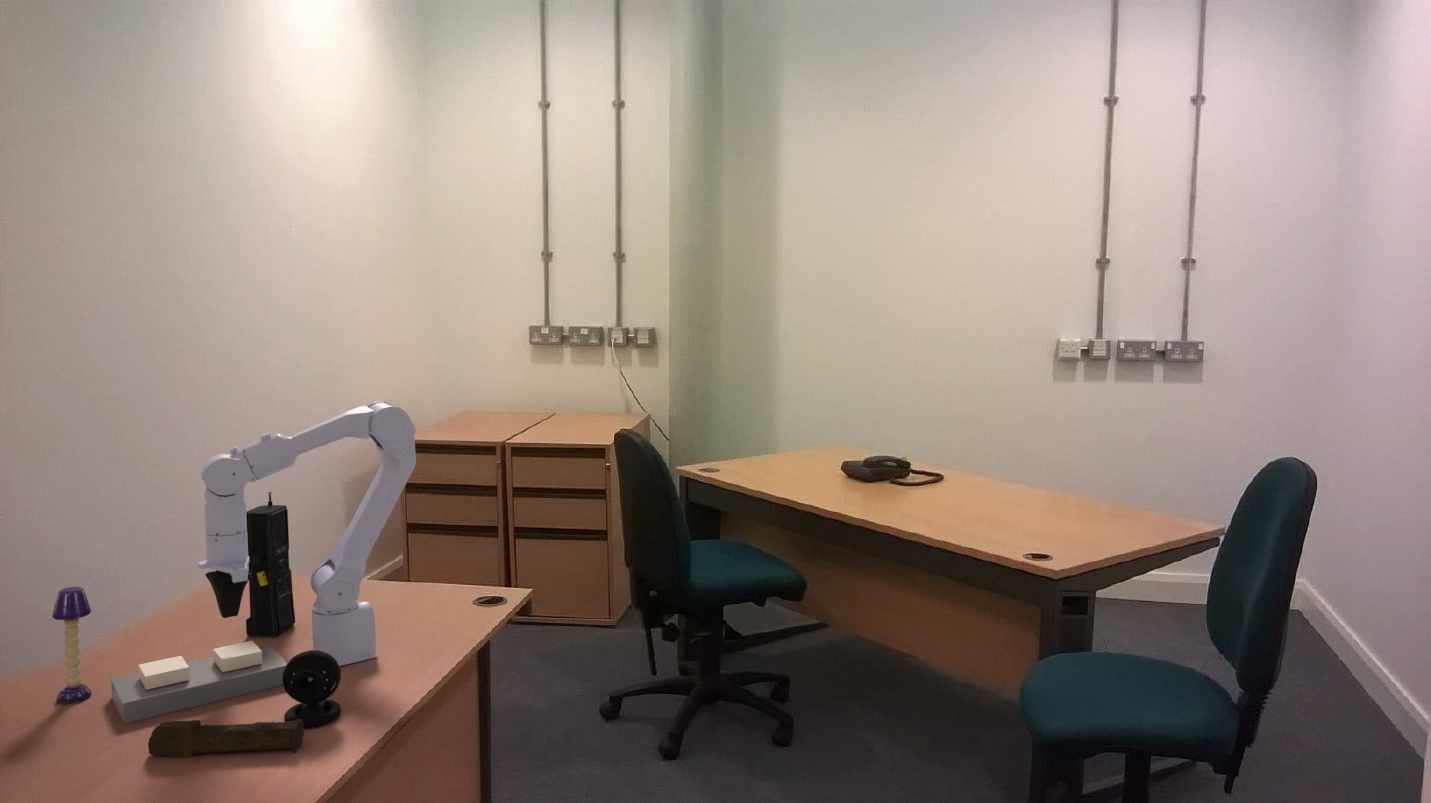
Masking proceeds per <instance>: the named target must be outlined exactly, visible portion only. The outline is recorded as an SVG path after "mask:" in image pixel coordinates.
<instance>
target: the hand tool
mask: <svg viewBox="0 0 1431 803" xmlns="http://www.w3.org/2000/svg"><path fill="white" fill-rule="evenodd" d="M304 730H305V729H304V728H303V720H301V719H296V720H293V721H288V722H285V721H282V722H281V721H277V722H275V721H270V722H269V721H259V722H258V721H257V722H254V723H244V724H243V723H242V724H241V723H240V724H210V725H209V724H205V725H202V723H201V720H199V719H196V720H195V719H194V720H173V721H165V722H164V721H163V722H161V723H160V724H159V725H157V726H156V727H154V729H153V730H152V732H151V734H150V737H149V738H148V743H147V745H148V753H149V754H150V755H151V756H156V757H160V756H161V757H162V758H186V759H187V758H192V757H194V756H196V755H198V754H201V753H202V754H203V753H221V752H223V753H227V752H231V751H232V752H233V751H235V752H237V751H238V752H240V751H243V752H244V751H245V752H246V751H272V750H273V751H278V750H289V749H290V750H291V751H292V752H293V753H294V754H295V753H297V752H298V750H299V749H300V748H301V746H302V743H303V738H304V735H305V732H304Z"/></svg>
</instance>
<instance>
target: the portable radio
mask: <svg viewBox="0 0 1431 803" xmlns="http://www.w3.org/2000/svg"><path fill="white" fill-rule="evenodd" d="M267 493H268V501H267V504H265V505H258V506H257V507H254V508H251V509H249V510H246V516H247V543H248V556H249V560H250V561H249V564H248V571H249V572H250V573H251V576H250V579H249V580H248V586H249V588H248V589H249V591H248V592H249V617H247V619H245V631H246V632H245V633H246V635H247V636H249V637H254V638H257V637H259V638H277V637H279V636H280V635H282V634H283V633H284V632H286V631H288V630H289V629H290V628H291V627H293V626H294V625H295V623H296V622H297V621H296V614H295V605H294V593H293V578H292V569H291V568H290V558H289V553H290V552H289V550H290V538H289V534H290V533H289V513H288V512H289V511H288V507H287V505H286V504H284V505H280V504H273V501H272V493H273V492H272V491H269V492H267Z"/></svg>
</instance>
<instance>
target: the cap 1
mask: <svg viewBox="0 0 1431 803" xmlns="http://www.w3.org/2000/svg"><path fill="white" fill-rule="evenodd" d="M186 662H187V661H185V659H184V658H183V656H182V655H179V656H173V657H169V658H164V659H160V660H154V661H150V662H145V663H141V664H138V673H139V678H140V680H141V682H142V684H143V685H144V687H145V689H146V690H147V689H152V688H158V687H163V686H167V685H172V684H175V683H178V682H183V681H187V680H190V674H189V666H188V665H187V663H186Z"/></svg>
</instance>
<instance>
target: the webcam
mask: <svg viewBox="0 0 1431 803" xmlns="http://www.w3.org/2000/svg"><path fill="white" fill-rule="evenodd" d="M287 663H288V664H287V665H286V666H285V669H284V671H283V677H282V682H283V685H282V686H283V688H284V691H285V693H286V694H287V695H288V696H289V697H290V699H293V700H294V701H296V702H297V704H295V705H293V706H291V707H290V708H288V709H287V710H286V711H285V713H284V716H283V720H284V721H283V722H288V721H293V720H296V719H301V720H303V728H304V730H308V729H309V730H311V729H316V728H319V727H322V726H325V725H328V724H330V723H333V722H334V721H336V720H337V719H338V718H339V716H340V715H341V712H342V706H341V704H340V703H339V702H337V701H334V700H332V699H329V698H331V697H332V695H333V694H335V692H336V691H337V689H338V688H339V685H340V682H341V678H342V672H341V666H339V665H338V663H337V661H336V659H334V658H333V657H332V656H331V655H330V654H328V653H325V652H322V651H319V650H313V649H311V650H306V651H302V652H299V653H298V654H296V655H294V656H292V658H291V659H289V661H288V662H287ZM322 710H326V711H328V712H326V713H324V714H323V713H322Z"/></svg>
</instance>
